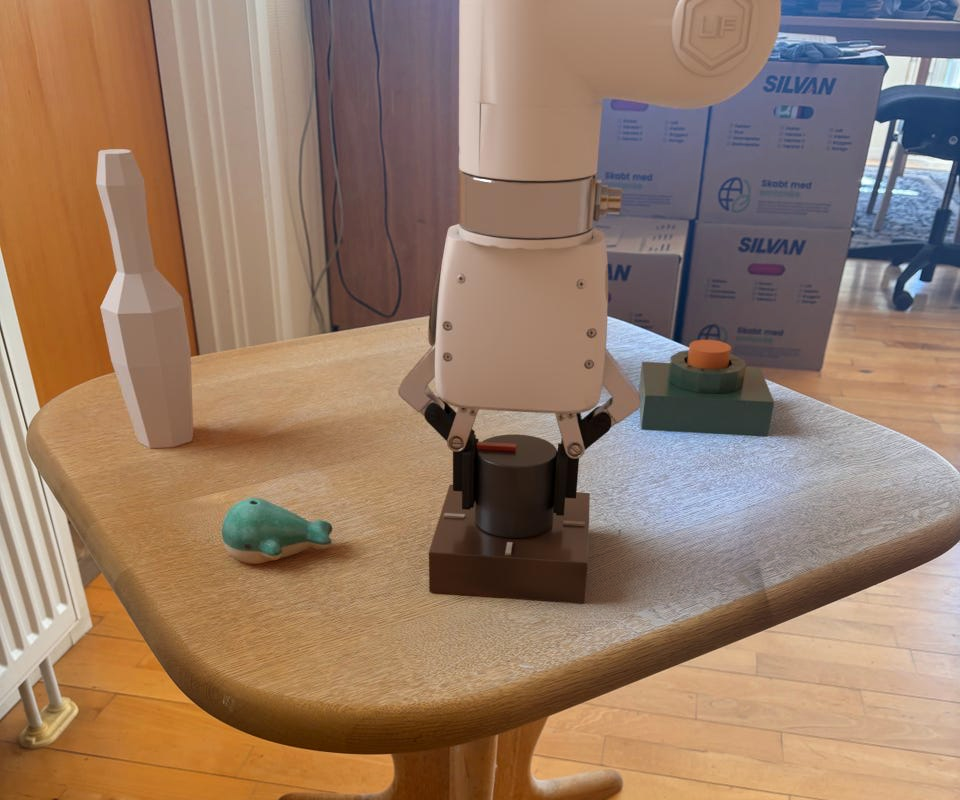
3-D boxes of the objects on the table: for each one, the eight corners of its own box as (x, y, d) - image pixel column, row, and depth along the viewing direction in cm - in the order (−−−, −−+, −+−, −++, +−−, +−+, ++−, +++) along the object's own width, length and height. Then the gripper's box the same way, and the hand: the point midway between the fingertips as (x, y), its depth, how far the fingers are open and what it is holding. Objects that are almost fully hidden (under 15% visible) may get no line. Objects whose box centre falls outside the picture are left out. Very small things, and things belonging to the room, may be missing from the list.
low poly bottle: (136, 457, 79) (76, 160, 67) (120, 430, 84) (61, 147, 71) (213, 443, 82) (169, 155, 69) (193, 418, 86) (149, 143, 74)
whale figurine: (232, 532, 69) (225, 483, 67) (336, 530, 69) (332, 482, 67) (218, 573, 64) (210, 522, 62) (330, 572, 65) (325, 521, 62)
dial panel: (586, 530, 70) (590, 490, 68) (584, 603, 62) (588, 560, 60) (449, 521, 71) (449, 481, 69) (429, 592, 63) (428, 549, 61)
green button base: (754, 400, 92) (764, 348, 89) (767, 437, 85) (778, 381, 82) (638, 394, 93) (644, 342, 90) (641, 430, 86) (647, 374, 83)
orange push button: (725, 359, 88) (728, 340, 87) (730, 373, 85) (733, 353, 84) (685, 357, 88) (688, 338, 87) (688, 371, 85) (691, 351, 84)
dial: (554, 504, 67) (559, 432, 64) (550, 541, 62) (555, 464, 59) (479, 500, 67) (480, 427, 64) (470, 535, 63) (471, 459, 60)
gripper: (678, 200, 56) (643, 486, 66) (386, 189, 57) (396, 472, 68) (687, 228, 50) (647, 539, 60) (360, 215, 51) (375, 521, 62)
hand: (514, 500), depth 64 cm, fingers closed on dial, 5 cm apart
